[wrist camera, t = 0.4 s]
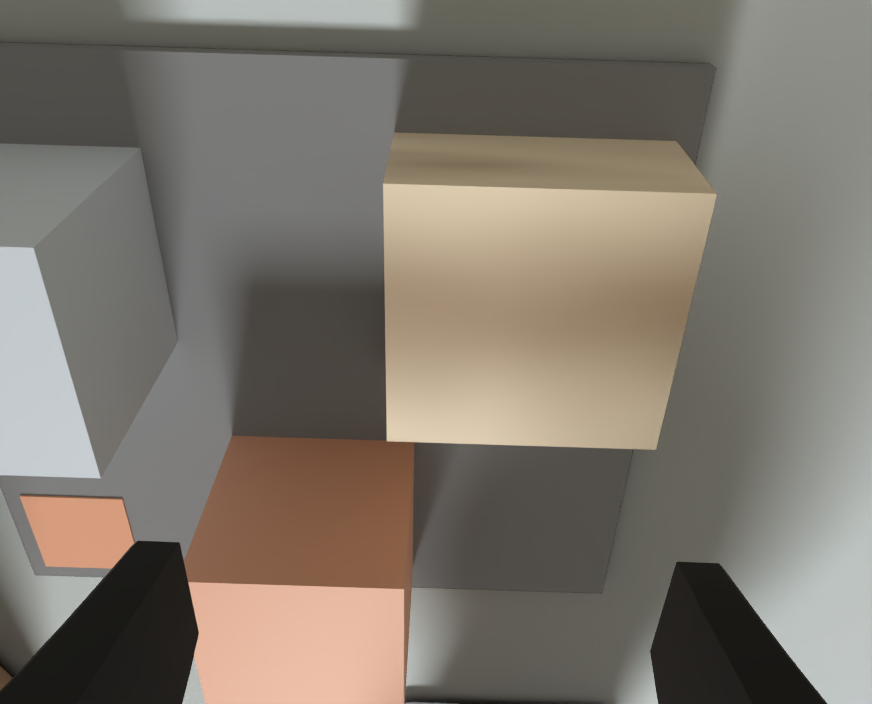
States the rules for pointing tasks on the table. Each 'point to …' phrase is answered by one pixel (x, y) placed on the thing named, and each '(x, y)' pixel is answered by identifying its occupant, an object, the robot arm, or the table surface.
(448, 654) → the table surface
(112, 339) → the blue-grey cube
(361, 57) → the grey square mat
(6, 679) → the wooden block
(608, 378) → the maple block
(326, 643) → the terracotta cube
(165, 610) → the robot arm
